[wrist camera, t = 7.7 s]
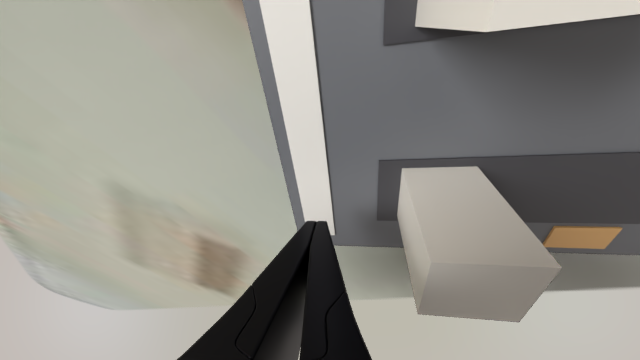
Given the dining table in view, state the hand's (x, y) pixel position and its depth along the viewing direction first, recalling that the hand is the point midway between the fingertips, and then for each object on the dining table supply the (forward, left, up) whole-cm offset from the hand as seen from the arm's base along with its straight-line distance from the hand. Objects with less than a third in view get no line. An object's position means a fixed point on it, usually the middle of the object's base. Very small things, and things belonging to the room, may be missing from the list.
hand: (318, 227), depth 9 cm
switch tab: (-5, 0, -2) cm, 6 cm away
